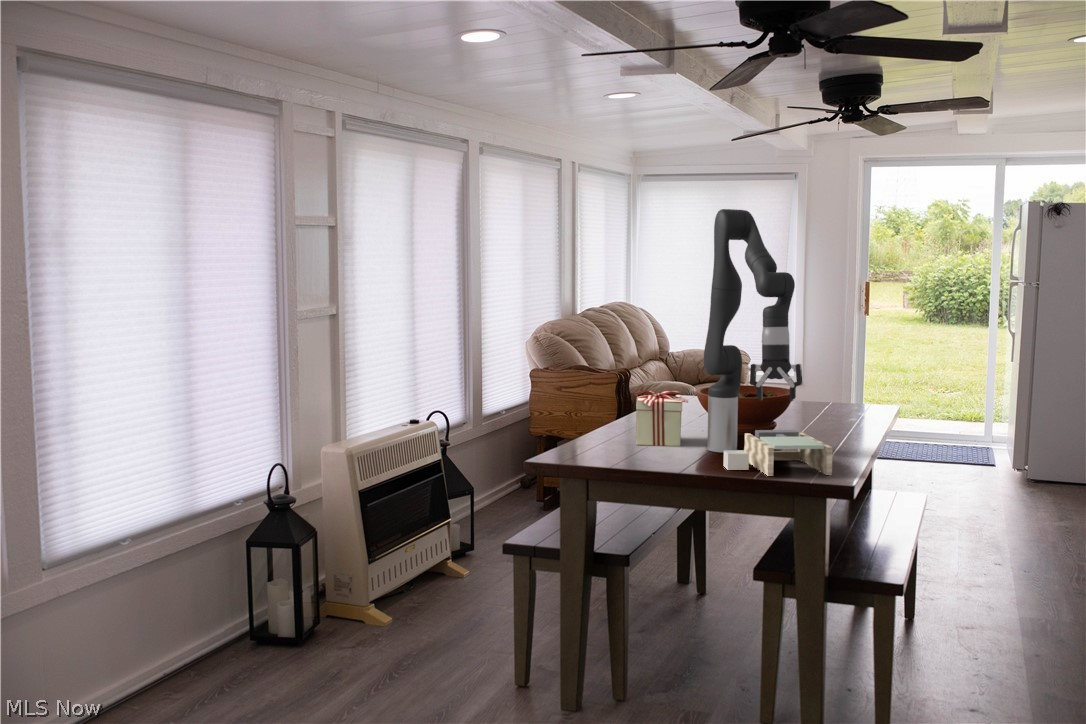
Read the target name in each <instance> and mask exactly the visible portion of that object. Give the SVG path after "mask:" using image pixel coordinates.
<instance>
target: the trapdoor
mask: <svg viewBox="0 0 1086 724" xmlns="http://www.w3.org/2000/svg"><path fill="white" fill-rule="evenodd" d="M799 433H800V432H799V431H797V430H796V429H759V430H758V429H755V431H754V436H755V437H757V438H758V439H760V440H762V441H763V442H765V443H766V444H768V445H770V446H771V447H773V448H774V450H798V449H824V445H823V444H821V443H819V442H817V441H815V440H813V439H811V438H809V437H807V436H803V437H799Z"/></svg>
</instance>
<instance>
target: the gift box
mask: <svg viewBox="0 0 1086 724" xmlns="http://www.w3.org/2000/svg"><path fill="white" fill-rule="evenodd" d="M635 396H636V404H635V406H636V409H635V410H636V415H635V416H636V417H635V418H636V421H635V423H636V424H635V427H636V428H635V429H636V432H635V433H636V435H635V443H636V444H635V445H637V446H651V447H652V446H653V447H655V446H656V447H681V438H682V437H681V435H682V434H681V433H682V432H681V431H682V430H681V429H682V412H683V403H689V399H686V398H682V392H680V391H678V390H672V391H668V390H663V391H662V392H660V393H659V392H658V393H656V392H654V391H652V390H639V391H636V392H635Z"/></svg>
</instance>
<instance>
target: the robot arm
mask: <svg viewBox="0 0 1086 724" xmlns="http://www.w3.org/2000/svg"><path fill="white" fill-rule="evenodd" d="M713 224H714V225H713V226H714V227H713V253H714V254H713V271H712V281H711V289H710V291H711V292H710V308H709V318H708V328H707V332H706V333H707V334H706V340H705V345H704V350H703V367H704V370H705V372H706V373H707V374H708V375H710V376H720V378H719V379H718V381H716V382H715V383H714V384H712V385H710V386H709V387H708V392H707V399H708V401H707V437H706V438H707V440H706V443H707V445H706V446H707V447H706V449H707V450H708V451H710V452H714V453H724V450H738V414H739V413H738V412H739V411H738V409H739V392H740V388H741V385H742V384H741V382H742V370H743V357H742V352H741V350H740V348H738V346H736V345H731V344H726V345H724V342H725V336H726V332H727V330H728V328H729V326H730V323H732V320H733V319H734V318H735V316H736V315H737V313H738V311H739V309H740V307H741V303H742V293H743V292H742V291H743V283H742V280H741V277H740V274H739V272H738V271H737V268H736V267H735V264H734V263H733V261H732V258H731V255H730V253H731V252H730V241H744V242H746V243H745V244H747V245H746V248H745V251H744V260H745V263H746V265H747V267H748V269H749V270H750V271H751V273H752V275H753V277H754V283H755V289H756V292H757V294H758V295H760V296H761V297H764V298H777V300H776V302H775V304H773V305H769V306H765V307H764V308H763V309H762V333H761V364H756V363H752V364H751V365H750V371H749V385H751V386H754V387H755V388H756V398H757V400H758V401H759V402H760V401H763V400H764V394H763V393H764V388H763V385H764V384H765V382H766V381H767V380H768V379H769V380H783V379H784V381H785V382H786V383H787V384H788V385H789V386H790V387H789V402H794V400H795V399H796V397H797V393H796V392H797V391H796V390H797V387H798V386H802V385H803V372H802V371H803V370H802V369H803V368H802V364H801V363H796V364H791V361H790V353H791V352H790V331H789V330H790V329H789V312H790V307H791V304H792V299H793V296H794V292H795V287H796V285H795V279H794V277H793V275H792V274H791V273H789V272H786V271H785V272H777V271H778V267H777V263H776V261H775V260H774V258H773V256H772V255H771V254H770V252H769V250H768V249H767V247H766V246H765V243H764V242H763V238H762V236H761V234H760V231H759V228H758V225H757V223H756V220H755V218H754V217H753V215H752V213H750V212H749V211H748V210H746V209H734V208H731V209H729V208H723V209H719V210H718V211H717V213H716V215H715V217H714V223H713ZM792 369H793V372H795V376H796V377H795V378H796V381H794V380H793V378H792V377H791V376H790V374H789V373H790V370H792ZM759 370H761V371H762V372H763V374H762V375H761V377H760V379H759V380H758V381H757V373H758V372H759Z"/></svg>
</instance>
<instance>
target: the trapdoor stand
mask: <svg viewBox="0 0 1086 724" xmlns="http://www.w3.org/2000/svg"><path fill="white" fill-rule="evenodd" d="M803 436H807V437H809V438H811V439H813V440H815V441H817V442H819V443H821V444H823V445H824V449H797V450H775V449H774V448H773V447H771V446H770V445H768V444H766V443H765V442H763V441H762V440H760V439H758V438H757V437H755V435H753V434H751V432H750V433H748V432H746V433H744V447H743V450H744V451H746V452H747V453H749V465H751V466H752V465H753V467H754V468H755V469H756V468H757V469H756V470H758V471H759V470H760V473H762V472H763V473H764V474H763V473H762V474H763V475H765V474H766V475H767V476H773V477H774V461H797V460H796V459H800V460H802V461H803V462H802V461H801V462H802V463H804V462H805V463H807V464H809V465H810V466H812V467H813V468H812V467H811V468H812V469H814V468H815V469H817V470H819V471H821V472H822V473H824V474H825V475H832V476H833V448H834V447H832V446H831V445H829V444H826V443H825V442H823V441H821V440H819V439H816V438H814V437H812V436H810V435H809V434H807V433H806V432H799V437H803ZM800 460H799V461H800ZM805 463H804V464H805ZM807 464H806V465H807ZM809 465H808V466H809ZM810 466H809V467H810ZM815 469H814V470H815ZM817 470H816V471H817ZM819 471H818V472H819ZM822 473H821V474H822ZM824 474H823V475H824ZM766 475H765V476H766ZM825 475H824V476H825ZM767 476H766V477H767Z"/></svg>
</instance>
